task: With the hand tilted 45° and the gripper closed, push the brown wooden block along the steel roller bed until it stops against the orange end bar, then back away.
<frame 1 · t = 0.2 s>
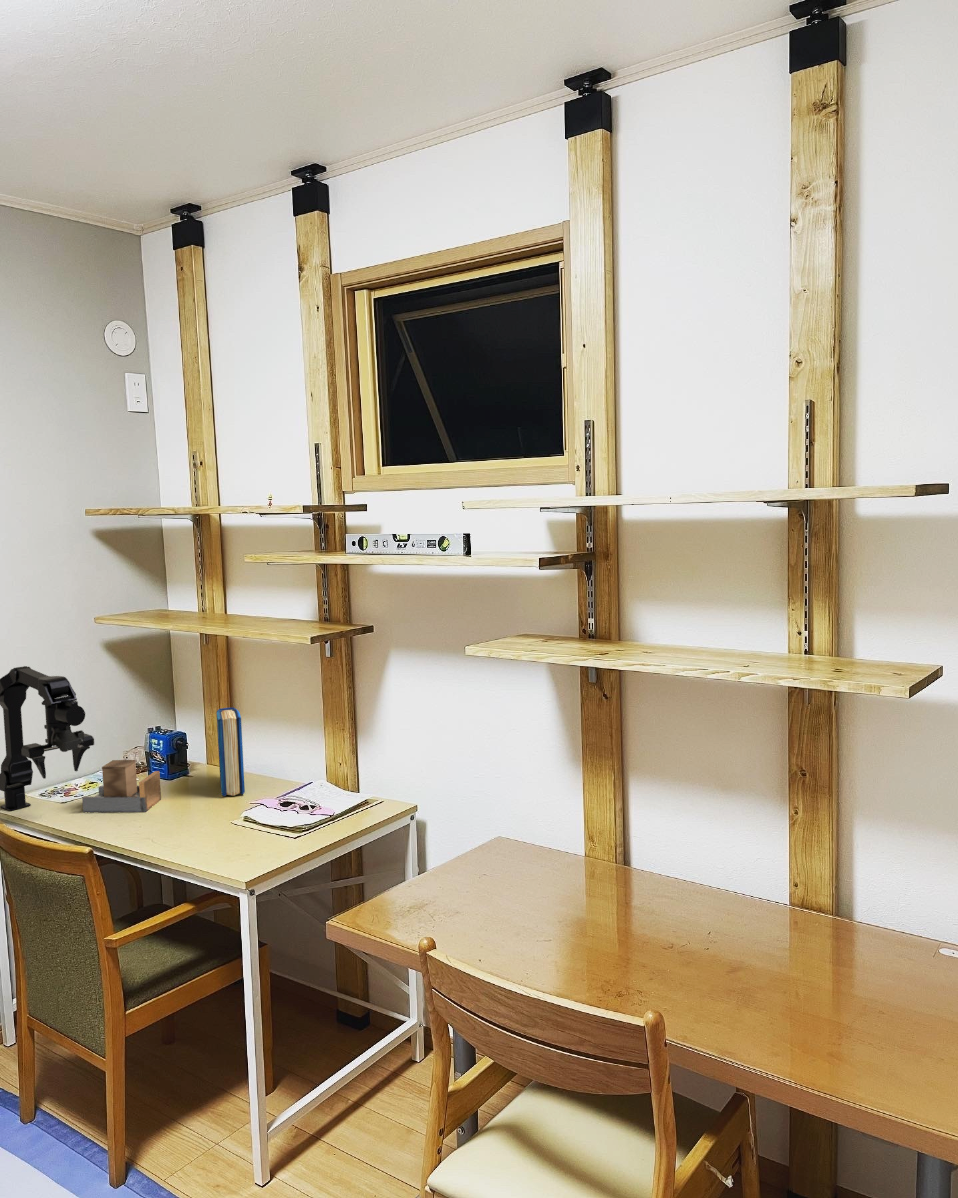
hand: (60, 774, 274), 14 cm above the table, tool pointing down, fingers open, 9 cm apart
roller bed: (121, 806, 290), on the table
brown wooden block: (120, 795, 290), point 3 cm above the table, touching roller bed
book: (231, 788, 306), on the table
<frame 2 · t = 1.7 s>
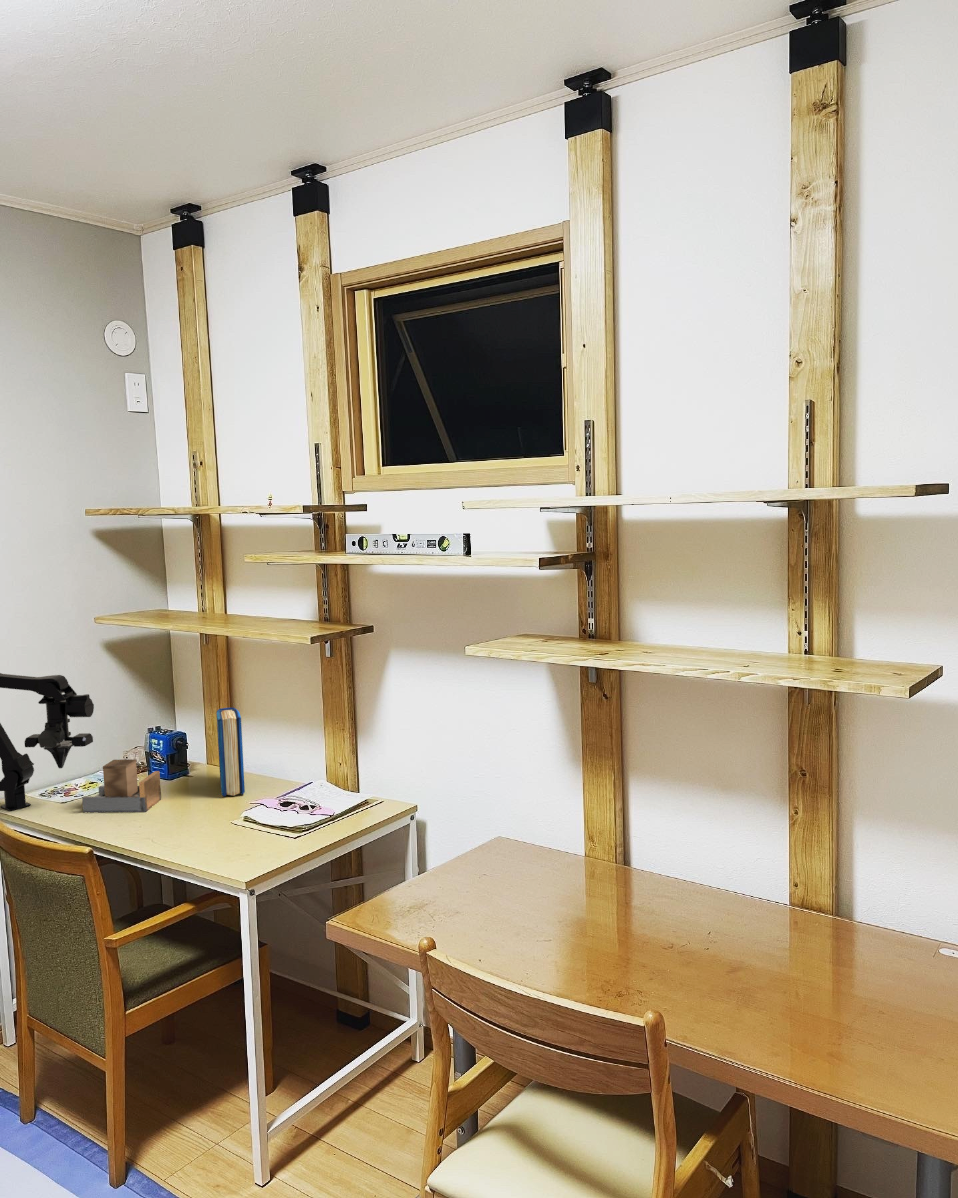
hand: (60, 768, 290), 12 cm above the table, tool pointing down, fingers closed
nothing on the table moved.
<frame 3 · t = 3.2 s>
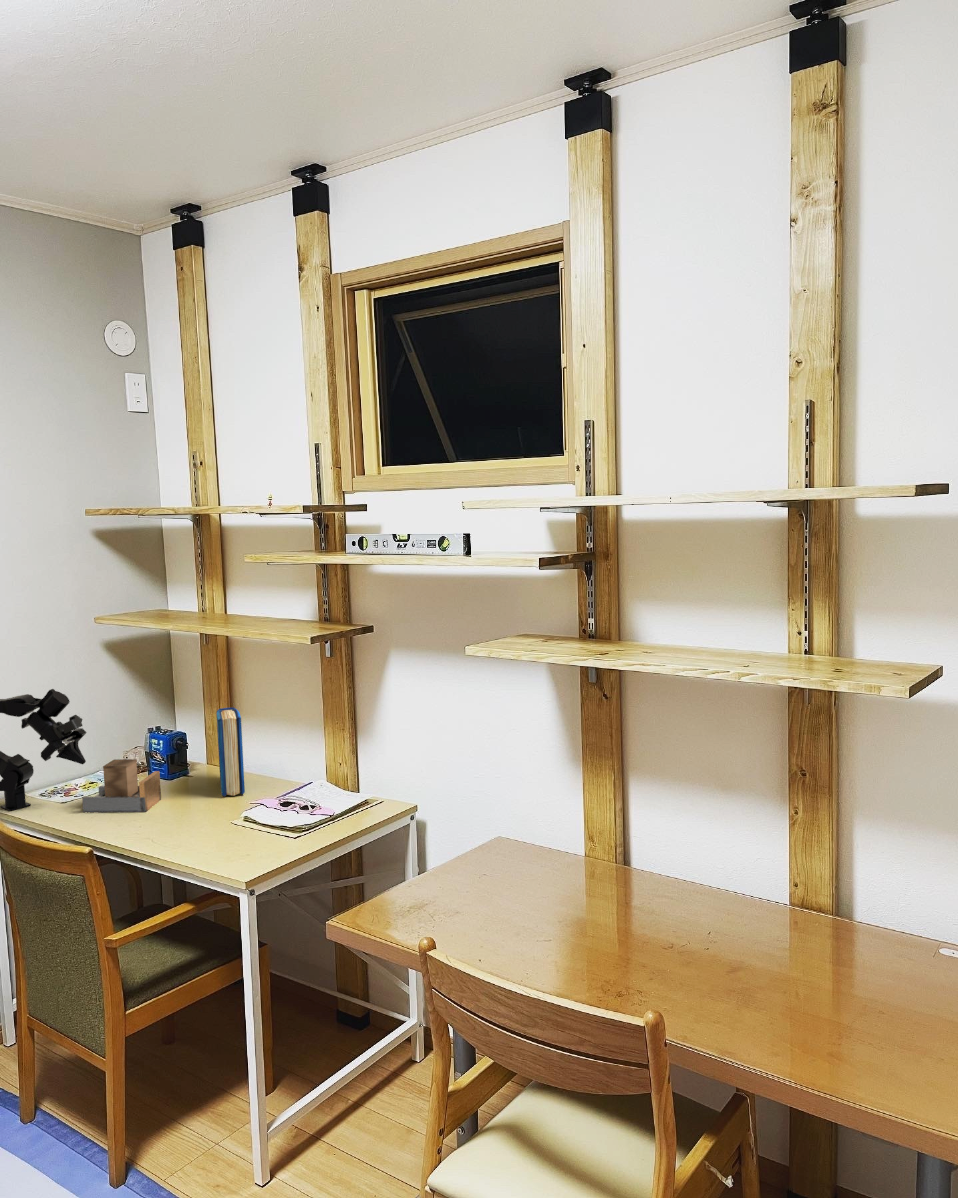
hand: (84, 763, 289), 13 cm above the table, tool tilted 45°, fingers closed
nothing on the table moved.
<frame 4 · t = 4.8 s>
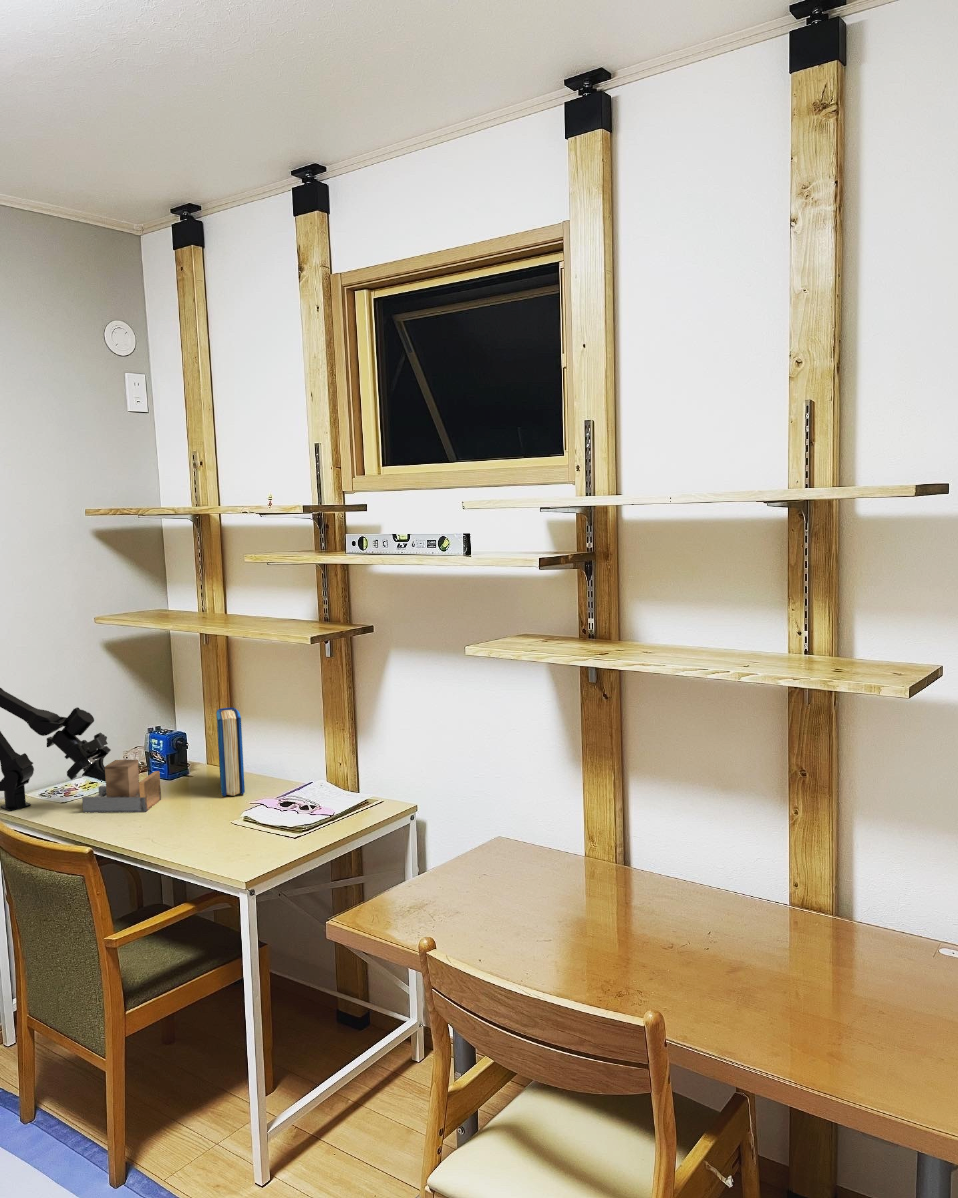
hand: (109, 781, 289), 8 cm above the table, tool tilted 45°, fingers closed
brown wooden block: (123, 795, 290), point 3 cm above the table, touching gripper, roller bed
everything else where it was.
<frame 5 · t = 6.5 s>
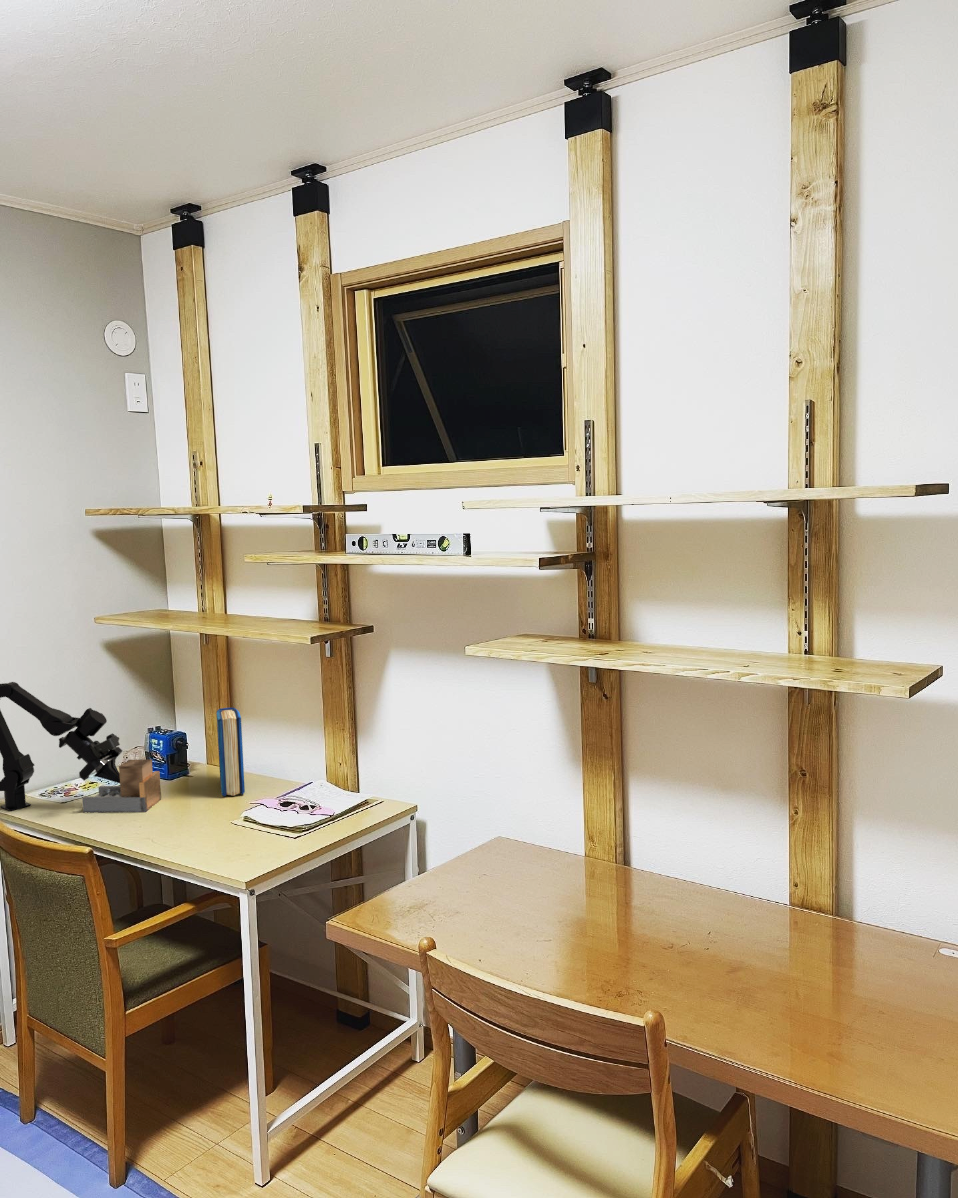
hand: (121, 782, 289), 7 cm above the table, tool tilted 45°, fingers closed
brown wooden block: (137, 795, 290), point 3 cm above the table, touching roller bed
everything else where it was.
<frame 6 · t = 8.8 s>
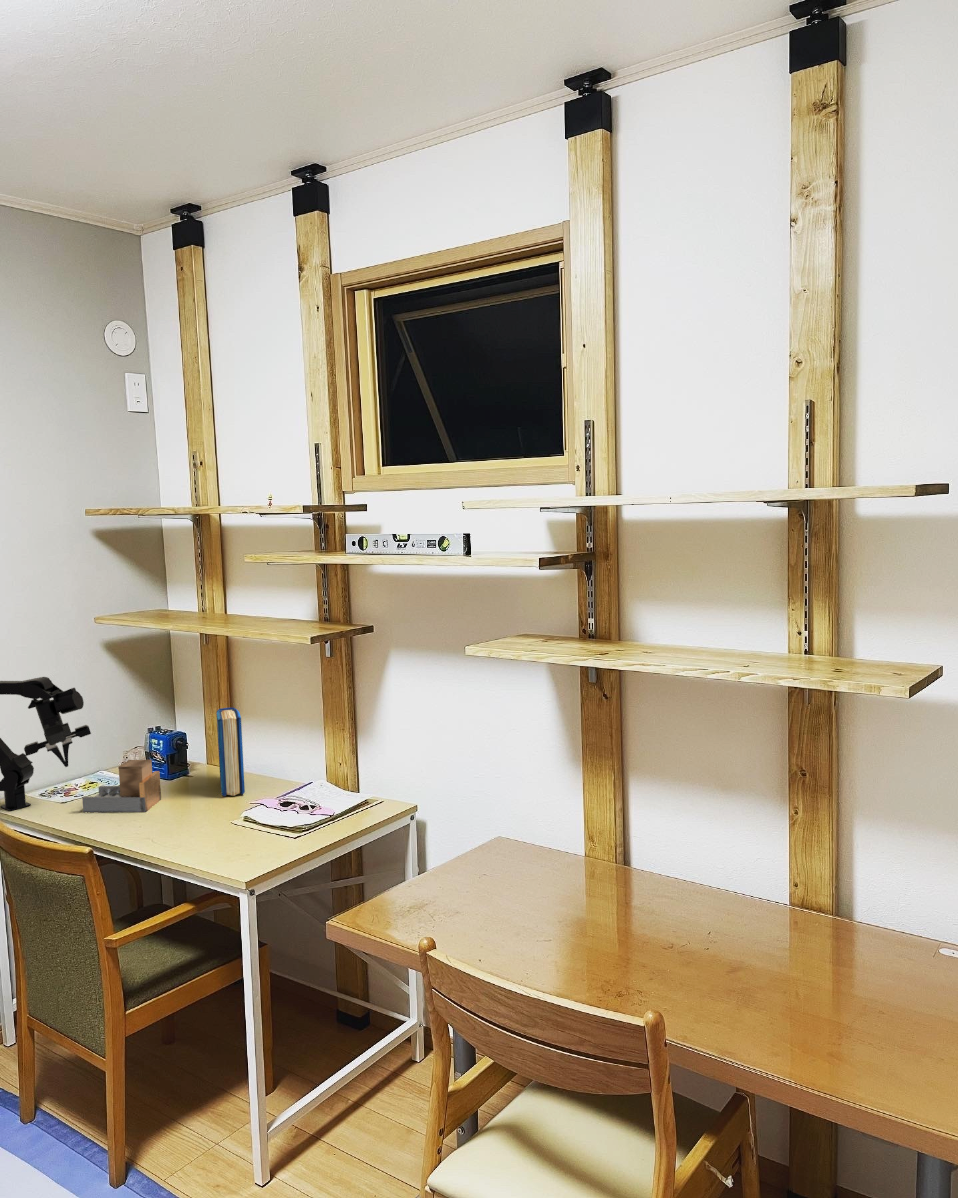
hand: (66, 766, 290), 12 cm above the table, tool tilted 15°, fingers closed
nothing on the table moved.
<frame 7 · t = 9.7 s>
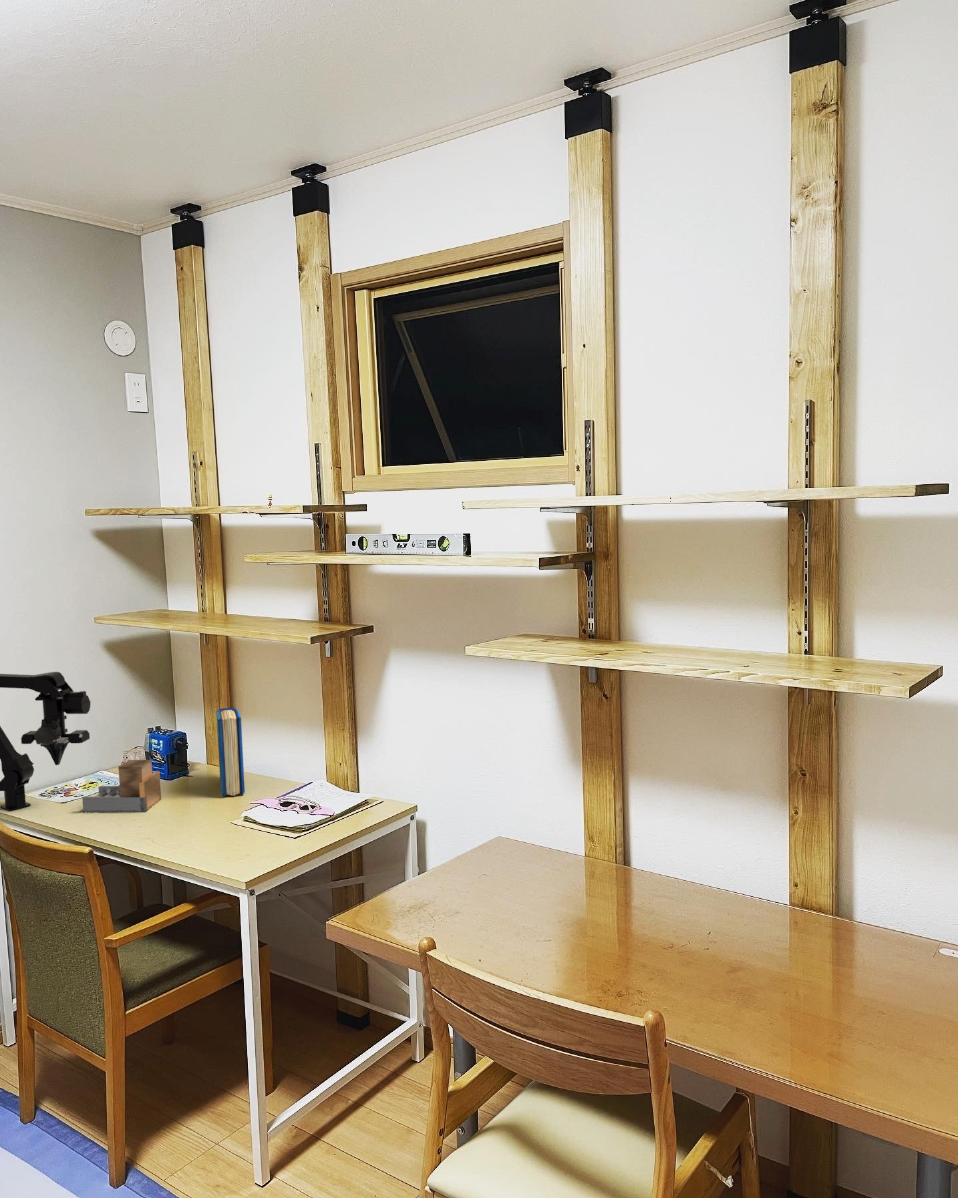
hand: (57, 764, 290), 13 cm above the table, tool pointing down, fingers closed
nothing on the table moved.
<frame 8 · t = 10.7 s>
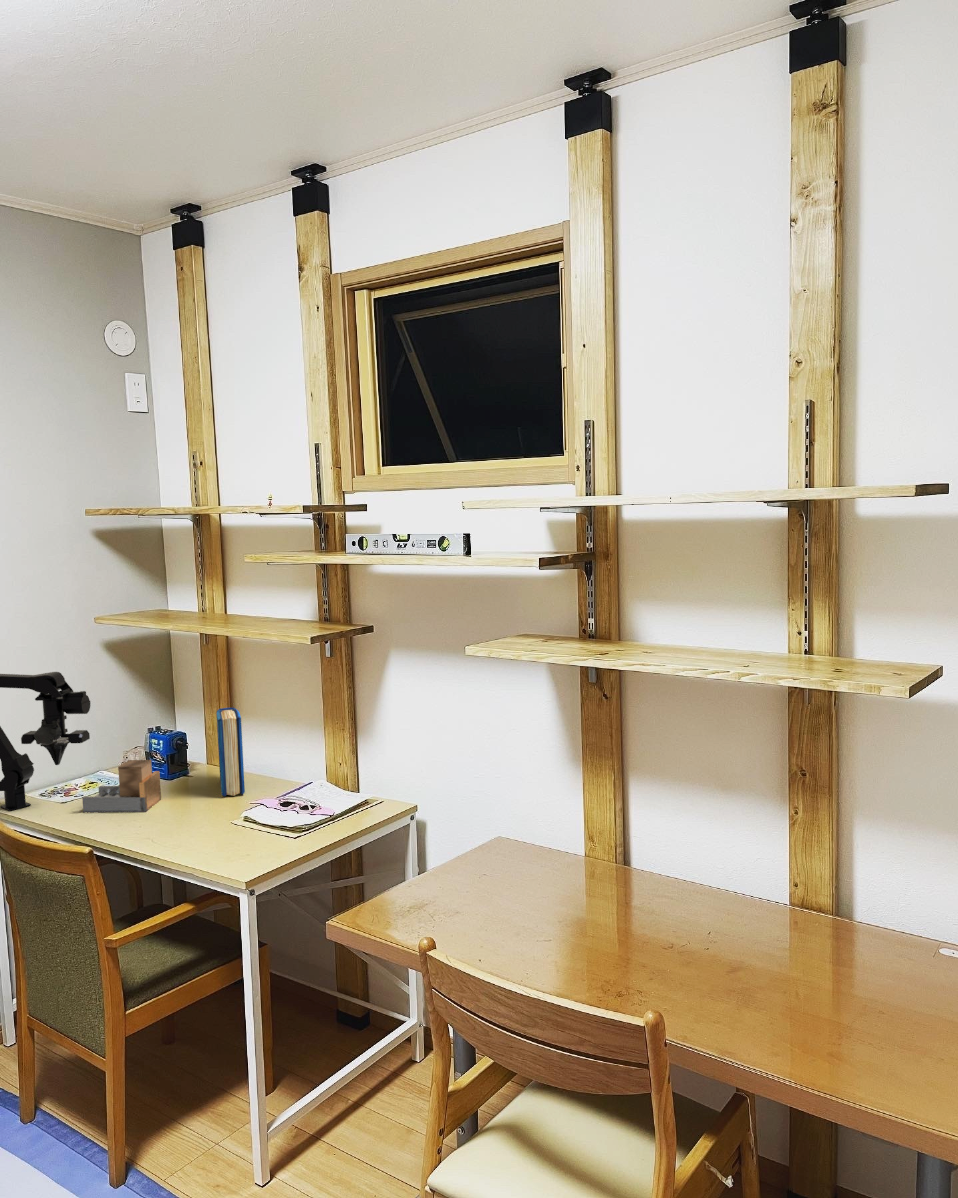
hand: (57, 764, 290), 13 cm above the table, tool pointing down, fingers closed
nothing on the table moved.
at the end: brown wooden block 0.0 cm from the target spot, point 3.2 cm above the table; brown wooden block tilted 0° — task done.
